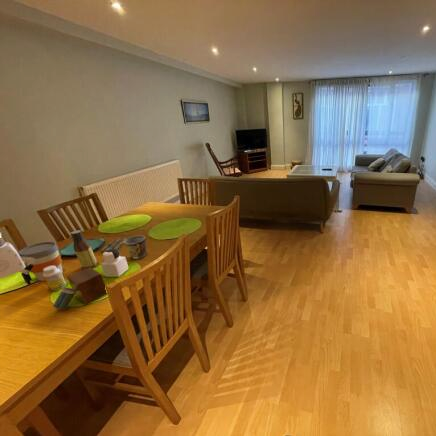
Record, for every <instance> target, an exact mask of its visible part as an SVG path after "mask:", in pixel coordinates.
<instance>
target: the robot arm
mask: <svg viewBox="0 0 436 436" xmlns="http://www.w3.org/2000/svg"><path fill="white" fill-rule="evenodd" d="M24 261H26V262H29V263H28V264H27V266H26V265H25V264H24V263H25V262H24ZM35 261H36V259H35V258H30V257H20V255H19V252H18V251H17V250H16V247H14V246H13V244H11V243H10V242H8V241H6V240H5V238H4V235H3V234H2V232H1V231H0V280H1V279H4V278H6V277H9V276H12V275H15V274H17V273H21V276H22V278H23V280H24V282H25V283H26V285H29V286H30V285H32V281H33V279H32V277H31V274H30V273H31V272H30V271H31V269H32V268H33V265H34V264H35Z"/></svg>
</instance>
